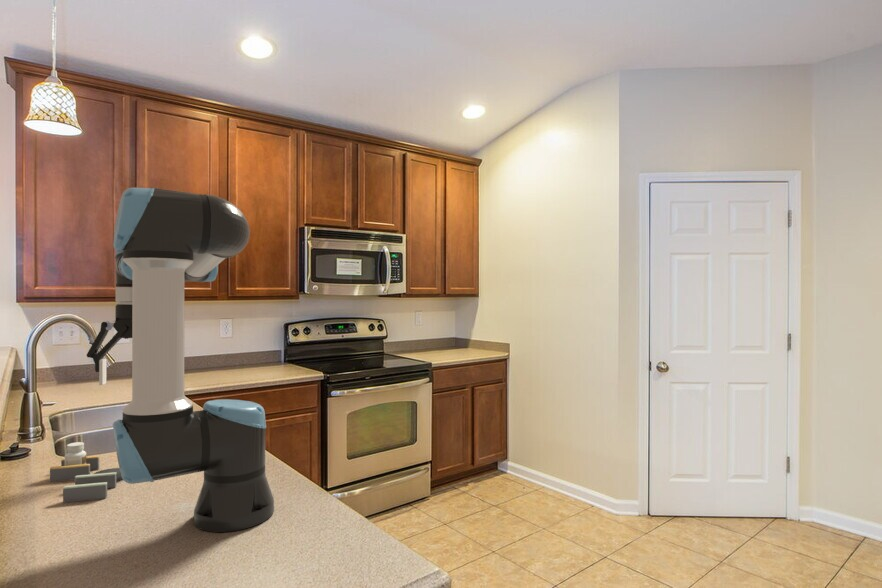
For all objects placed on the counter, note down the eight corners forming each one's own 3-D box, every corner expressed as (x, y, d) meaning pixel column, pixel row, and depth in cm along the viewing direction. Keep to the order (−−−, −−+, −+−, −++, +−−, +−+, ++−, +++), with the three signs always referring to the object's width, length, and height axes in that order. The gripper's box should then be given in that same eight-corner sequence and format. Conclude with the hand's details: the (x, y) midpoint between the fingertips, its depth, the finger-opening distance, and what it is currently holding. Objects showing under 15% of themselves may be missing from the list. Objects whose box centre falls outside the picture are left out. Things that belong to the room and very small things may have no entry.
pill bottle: (88, 474, 127) (88, 443, 127) (66, 479, 124) (66, 447, 124) (83, 470, 130) (83, 440, 130) (62, 475, 127) (62, 444, 127)
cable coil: (121, 483, 121) (121, 476, 121) (87, 486, 119) (87, 479, 119) (129, 473, 128) (129, 466, 128) (97, 476, 126) (97, 469, 126)
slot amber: (88, 478, 124) (88, 465, 124) (49, 481, 122) (49, 468, 122) (99, 468, 131) (99, 455, 131) (62, 471, 129) (62, 458, 129)
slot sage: (105, 498, 112) (105, 483, 112) (63, 502, 110) (63, 487, 110) (116, 486, 119) (116, 472, 119) (76, 489, 117) (76, 475, 117)
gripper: (186, 303, 142) (186, 379, 142) (84, 302, 136) (84, 382, 136) (180, 303, 135) (180, 384, 135) (71, 303, 128) (71, 387, 129)
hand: (131, 383), depth 135 cm, fingers open, 13 cm apart
